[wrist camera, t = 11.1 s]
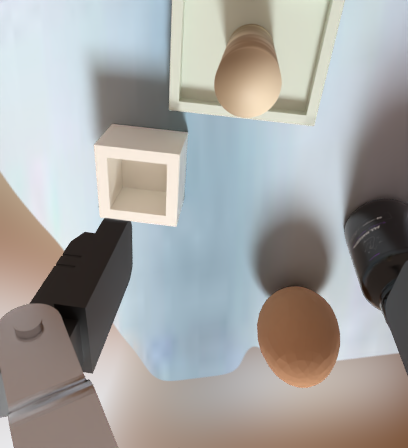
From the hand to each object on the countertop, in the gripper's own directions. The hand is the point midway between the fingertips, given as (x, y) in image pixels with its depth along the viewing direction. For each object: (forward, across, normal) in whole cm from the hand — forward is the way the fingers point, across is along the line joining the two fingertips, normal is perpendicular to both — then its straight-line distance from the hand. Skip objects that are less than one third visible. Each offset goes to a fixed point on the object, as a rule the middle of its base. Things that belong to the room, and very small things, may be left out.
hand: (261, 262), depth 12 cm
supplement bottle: (+25, -14, +13) cm, 32 cm away
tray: (+25, +1, -2) cm, 25 cm away
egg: (+25, -8, +24) cm, 35 cm away
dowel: (+24, +1, -2) cm, 24 cm away
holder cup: (+24, +9, +9) cm, 28 cm away
